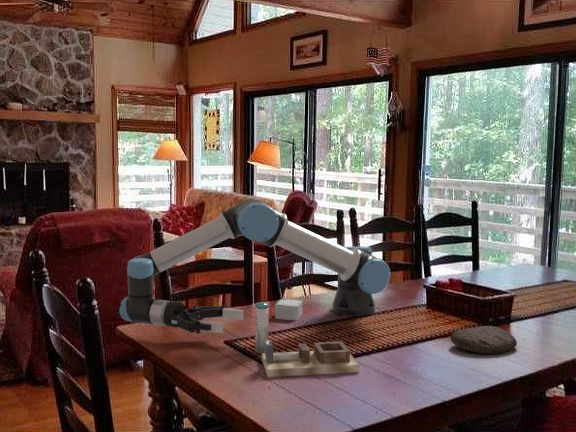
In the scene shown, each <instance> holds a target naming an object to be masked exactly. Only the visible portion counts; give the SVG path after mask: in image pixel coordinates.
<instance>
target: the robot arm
mask: <svg viewBox="0 0 576 432" xmlns="http://www.w3.org/2000/svg"><path fill="white" fill-rule="evenodd" d="M240 236H243V237H245V238H246V239H248V240H250V241H252V242H257V243H259V244H262V245H263V246H267V247H268V248H272V247H275V246H278V247H280V248H283V249H285V250H286V251H288V252H291V253H294V254H295V255H297V256H300V257H301V258H304V259H306V260H309V261H310V262H313V263H314V264H318V265H319V266H321V267H324V268H326V269H328V270H330V271H332V272H334V273H337V289H336V292H335V294H334V295H335V296H334V298H333V301H332V305H331V306H332V312H334V313H336V314H339V315H343V316H350V317H362V316H368V315H369V316H370V315H372V314H375V312H376V305H375V299H374V297H373V295H374V294H375V295H376V294H378V293H380V292H383V291H384V290H385V289H386V288H387V286H388V285H389V283H390V281H391V274H392V273H391V269H390V267H389V265H388V264H387V263H386V261H384V260H383V259H382V258H379V257H376V256H374V255H372V254H373V252H372V247H370V246H342V245H341V244H339V243H337V242H334V241H332V240H330V239H327V238H326V237H324V236H321V235H319V234H317V233H315V232H313V231H311V230H309V229H306V228H305V227H302V226H300V225H298V224H296V223H294V222H293V221H289V220H288V217H287V214H286V213H284V212H282V211H281V210H278V209H276V208H273V207H272V206H270V204H269V205H268V203H264V202H261V201H259V200H257V199H251V198H249V199H246V200H242V201H240V202H237V204H235V205H233V206H231V207H229V208H228V209H225V210H224V211H223V212H220V213H219V216H218V217H217V218H215V219H214V220H211V221H208V222H207V223H204V224H202V225H201V226H199V227H197V228H195V229H193V230H191V231H189V232H187V233H185V234H183V235H181V236H179V237H177V238H175V239H173V240H171V241H169V242H167V243H165V244H163V245H160V246H159V247H156V248H155V249H153V250H151V251H149V252H147V253H145V254H143V255H137V256H134V257H133V258H132V259H129V260H128V262H127V268H126V271H127V272H126V274H127V292H128V293H127V296H125V297H124V298H123V299H122V300H121V302H120V307H119V315H120V316H121V318H122V319H123V320H124V321H126V322H131V323H136V324H147V325H155V326H158V327H160V328H162V327H163V326H164V327H168V328H179V329H181V330H184V331H187V332H189V333H191V334H192V333H196V334H201V331H202V332H209V333H217V334H223V333H224V323H223V322H216V321H208V320H203V319H209V318H221V317H222V318H223V319H230V320H237V321H243V320H244V310H242V309H232V308H226V305H224V304H222V305H217V306H216V305H212V306H210V305H208V306H207V305H206V306H203V305H202V306H201V305H200V306H199V305H194V306H192V307H188V308H186V306H185V304H184V303H183V302H181V301H170V300H167V299H166V300H165V299H156V298H154V276H157V275H158V274H160V273H162V272H164V271H166V270H168V269H170V268H172V267H174V266H176V265H178V264H180V263H181V262H184V261H185V260H187V259H189V258H192V257H194V256H195V255H198V254H200V253H201V252H204V251H205V250H207V249H210V248H211V247H212V248H213V246H215V245H218V244H220V243H221V242H223V241H226V240H227V239H232V240H234V239H236V238H238V237H240Z"/></svg>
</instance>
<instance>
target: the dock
mask: <svg viewBox="0 0 576 432" xmlns="http://www.w3.org/2000/svg"><path fill="white" fill-rule="evenodd" d="M297 349H298V350H297V351H288V352H285V351H283V352H273V354H282V353H298V354H299V360H287V361H273V363H267V361H266V359H265V353H262V354H261V363H262V362H263V363H262V366H263V365H264V366H263V368H264V371H265V373H266V376H267V378H277V377H280V378H283V377H296V376H312V375H313V376H314V375H331V374H348V373H351V374H352V373H360V364H359V362H358V361H357V360H356V358H355V357H354V356H353V355H352V354H351V350H350V349H349V348H348V347H347V345H346V344H345V343H344V342H343V341H326V342H313V350H310V348H309V346H308V345H307V343H305V342H304V343H298V348H297Z"/></svg>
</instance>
